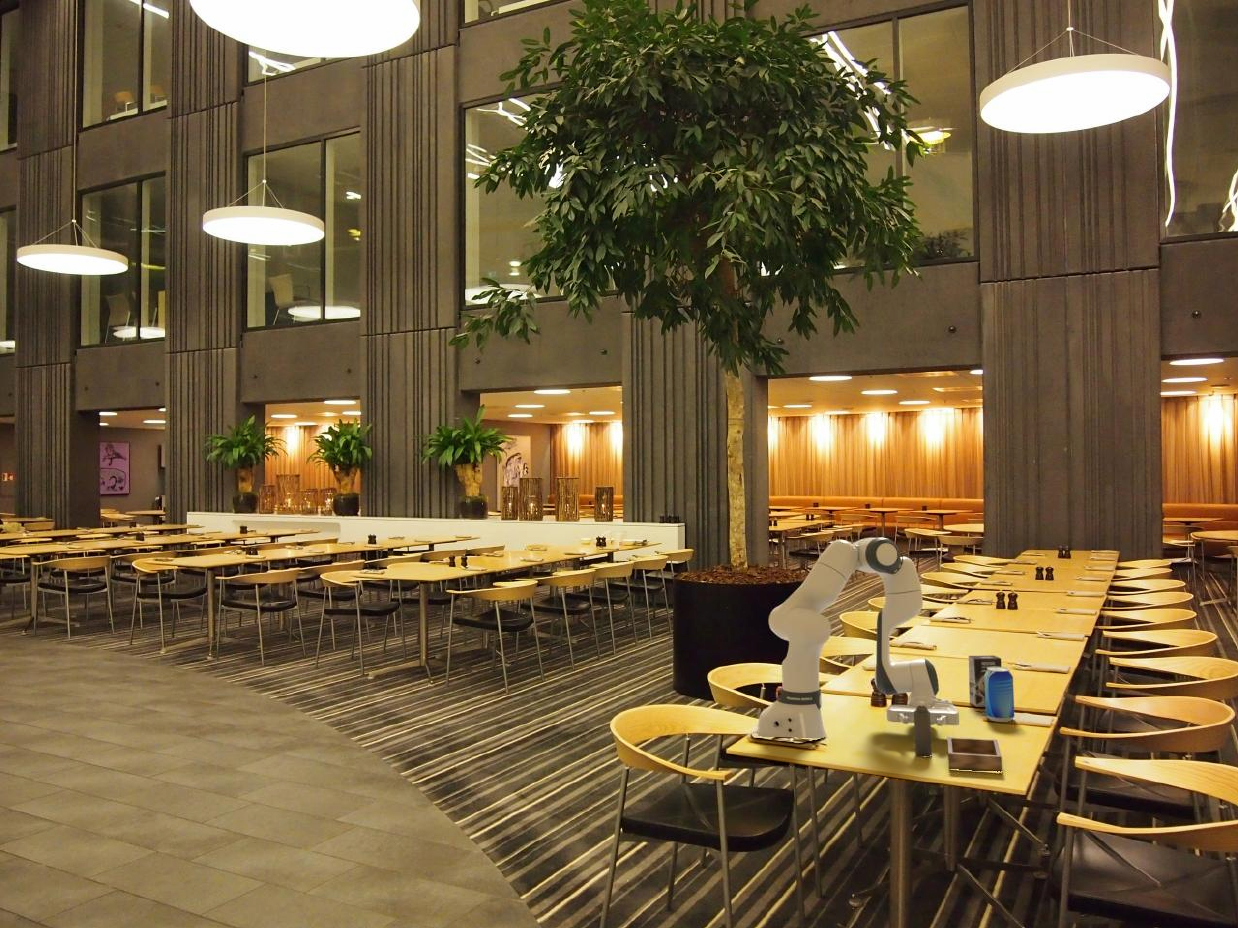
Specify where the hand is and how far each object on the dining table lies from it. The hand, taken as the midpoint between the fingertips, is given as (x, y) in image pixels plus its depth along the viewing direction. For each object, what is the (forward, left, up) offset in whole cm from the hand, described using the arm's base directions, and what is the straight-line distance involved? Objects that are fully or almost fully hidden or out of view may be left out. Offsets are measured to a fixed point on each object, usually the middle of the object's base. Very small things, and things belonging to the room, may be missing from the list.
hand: (922, 721), depth 264 cm
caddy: (+13, -12, -8) cm, 19 cm away
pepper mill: (0, -7, -8) cm, 10 cm away
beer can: (+23, +37, -8) cm, 45 cm away
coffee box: (+20, +56, -8) cm, 60 cm away
